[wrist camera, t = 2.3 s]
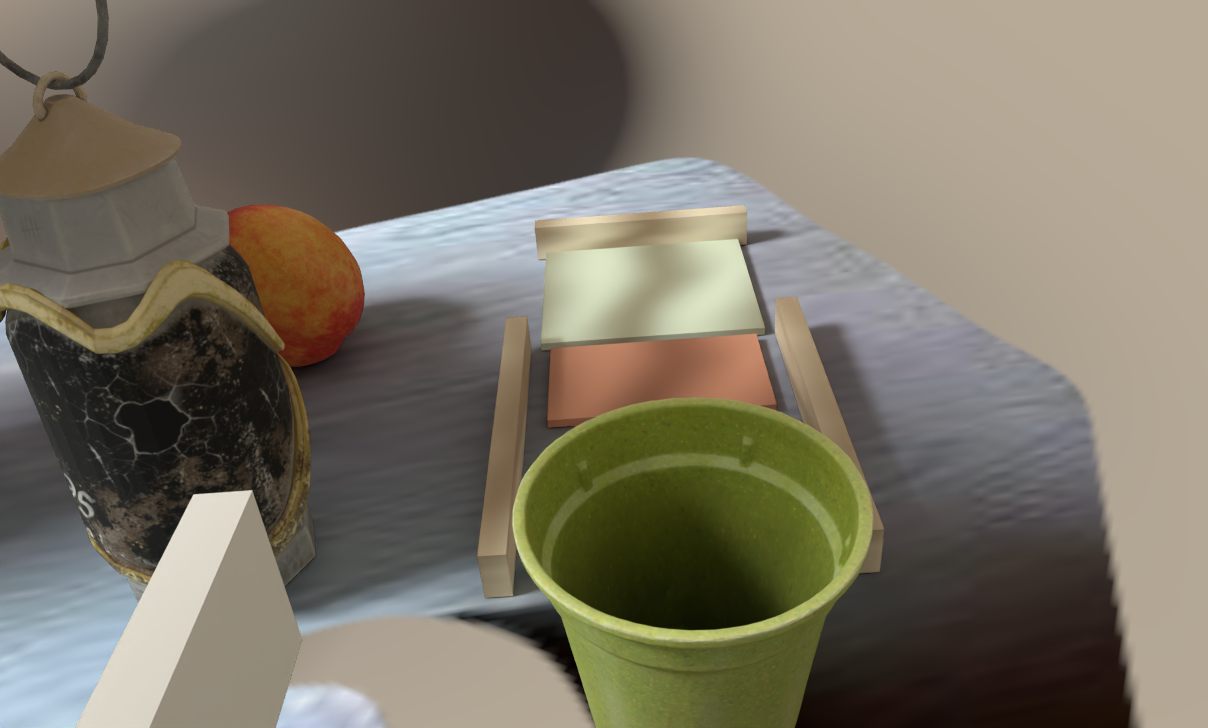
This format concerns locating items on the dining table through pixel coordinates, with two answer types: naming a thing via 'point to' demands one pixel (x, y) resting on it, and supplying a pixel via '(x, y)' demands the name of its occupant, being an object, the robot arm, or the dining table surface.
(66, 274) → the lantern
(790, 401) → the dining table surface
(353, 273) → the fruit
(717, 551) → the plant pot
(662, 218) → the trap box
